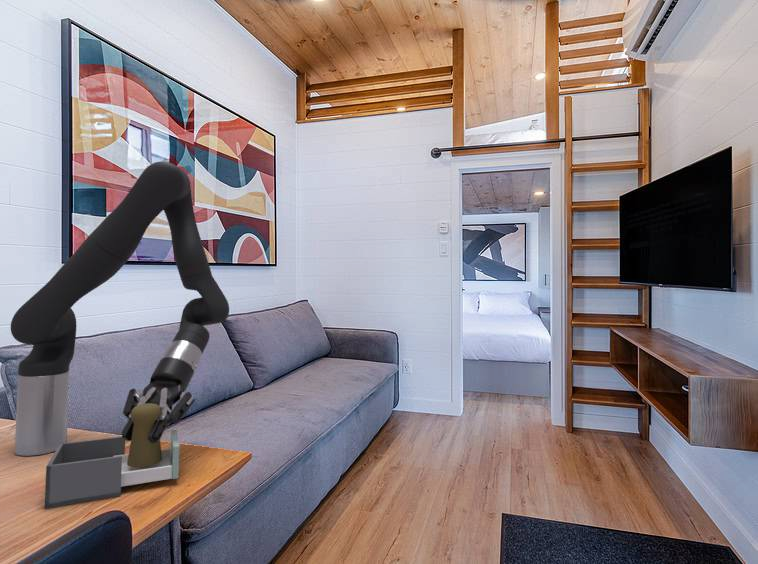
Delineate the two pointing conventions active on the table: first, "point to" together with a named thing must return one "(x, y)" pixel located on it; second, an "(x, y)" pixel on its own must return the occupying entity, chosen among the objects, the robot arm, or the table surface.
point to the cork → (144, 436)
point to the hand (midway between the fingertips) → (138, 439)
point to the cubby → (84, 472)
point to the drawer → (153, 466)
